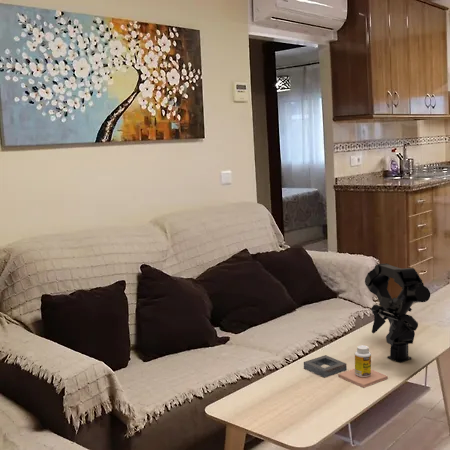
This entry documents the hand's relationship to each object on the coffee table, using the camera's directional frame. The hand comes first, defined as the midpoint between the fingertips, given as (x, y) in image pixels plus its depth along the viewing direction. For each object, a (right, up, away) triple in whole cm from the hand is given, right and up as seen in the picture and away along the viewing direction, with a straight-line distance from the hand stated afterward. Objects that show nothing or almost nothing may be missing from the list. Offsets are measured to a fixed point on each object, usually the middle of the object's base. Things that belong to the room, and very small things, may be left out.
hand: (381, 336), depth 211 cm
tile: (-7, -14, -2) cm, 16 cm away
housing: (-19, -13, +7) cm, 24 cm away
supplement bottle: (-7, -13, -2) cm, 15 cm away
